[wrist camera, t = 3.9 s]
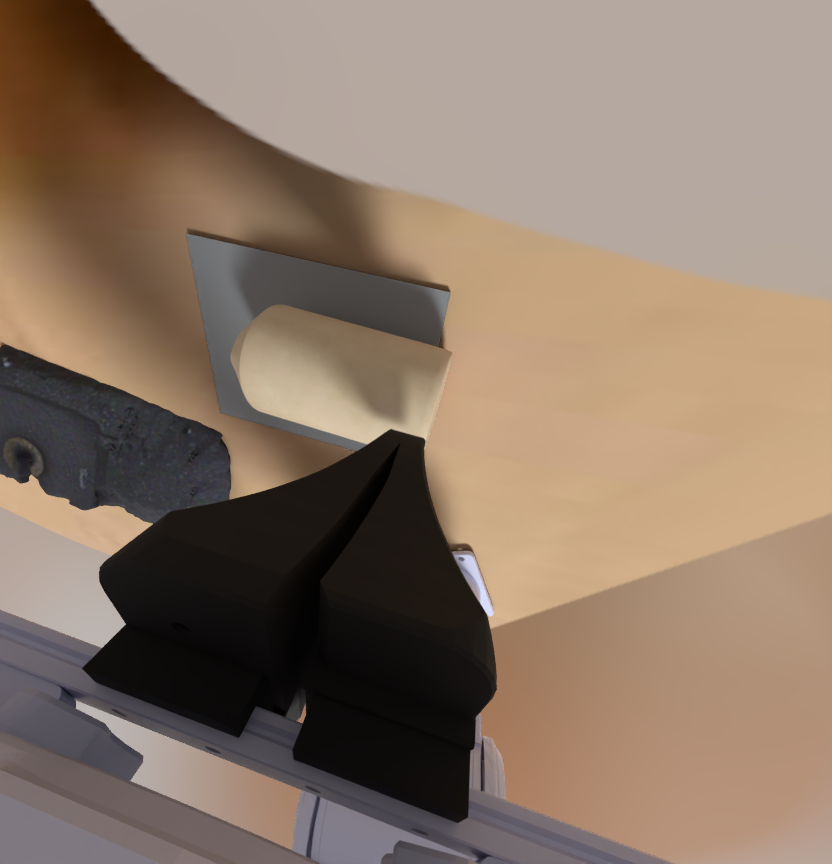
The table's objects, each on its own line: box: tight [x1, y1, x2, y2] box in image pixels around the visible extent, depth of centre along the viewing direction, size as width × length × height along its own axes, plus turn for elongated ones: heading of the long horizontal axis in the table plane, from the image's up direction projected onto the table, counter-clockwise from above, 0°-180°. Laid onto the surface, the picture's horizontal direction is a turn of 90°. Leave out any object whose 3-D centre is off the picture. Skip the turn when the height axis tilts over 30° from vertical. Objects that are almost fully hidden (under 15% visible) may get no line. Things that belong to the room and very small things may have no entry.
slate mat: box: [186, 234, 450, 451], centre depth 18 cm, size 14×11×1 cm
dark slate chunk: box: [0, 345, 231, 524], centre depth 25 cm, size 15×22×5 cm
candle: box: [230, 304, 452, 451], centre depth 15 cm, size 6×6×10 cm
